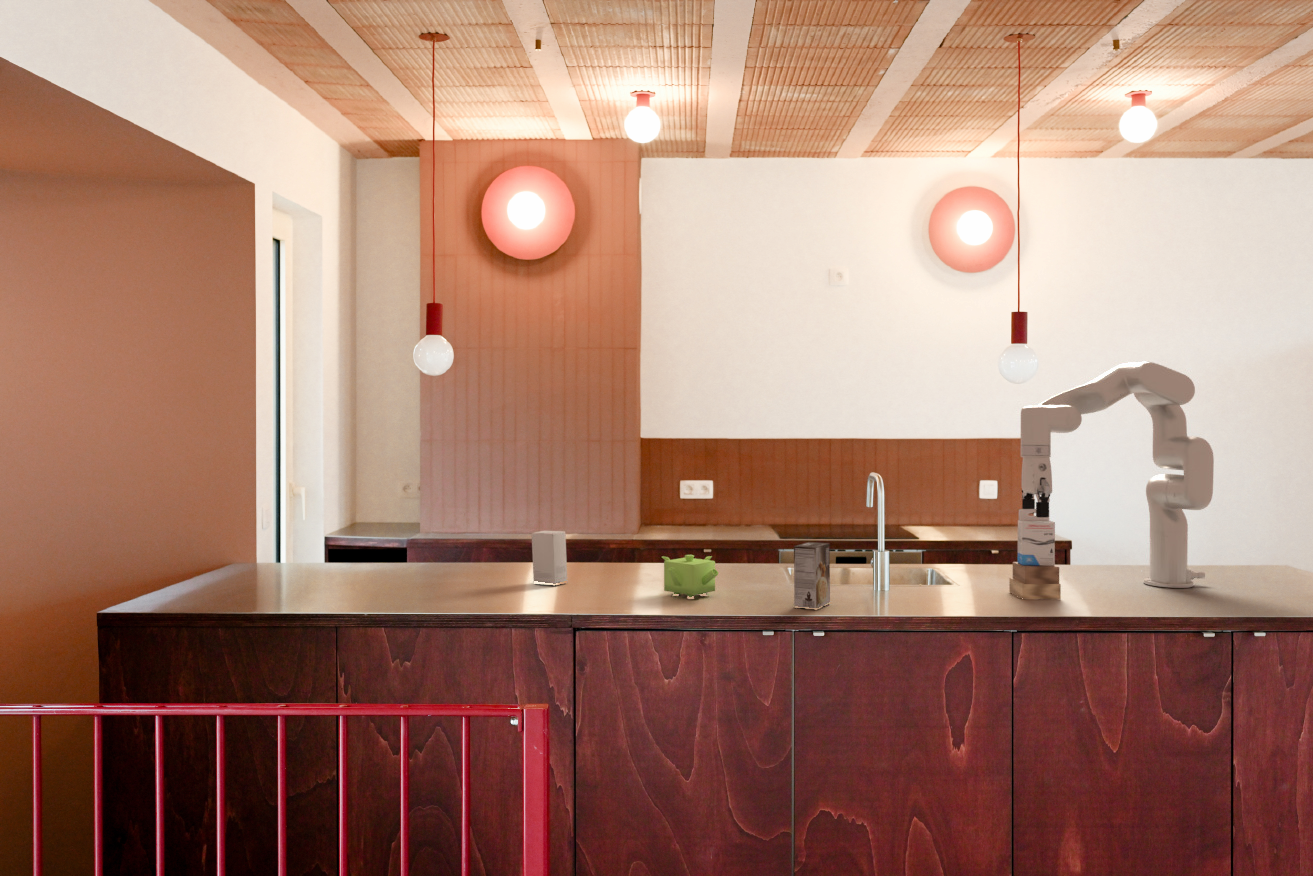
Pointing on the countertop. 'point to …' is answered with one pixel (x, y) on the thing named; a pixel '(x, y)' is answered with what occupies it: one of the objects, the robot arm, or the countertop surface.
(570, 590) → the countertop surface
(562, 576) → the skincare box
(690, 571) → the kettle
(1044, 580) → the tower top
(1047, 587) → the tower base
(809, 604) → the coffee box
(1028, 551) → the ink box
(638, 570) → the countertop surface
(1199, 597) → the countertop surface
